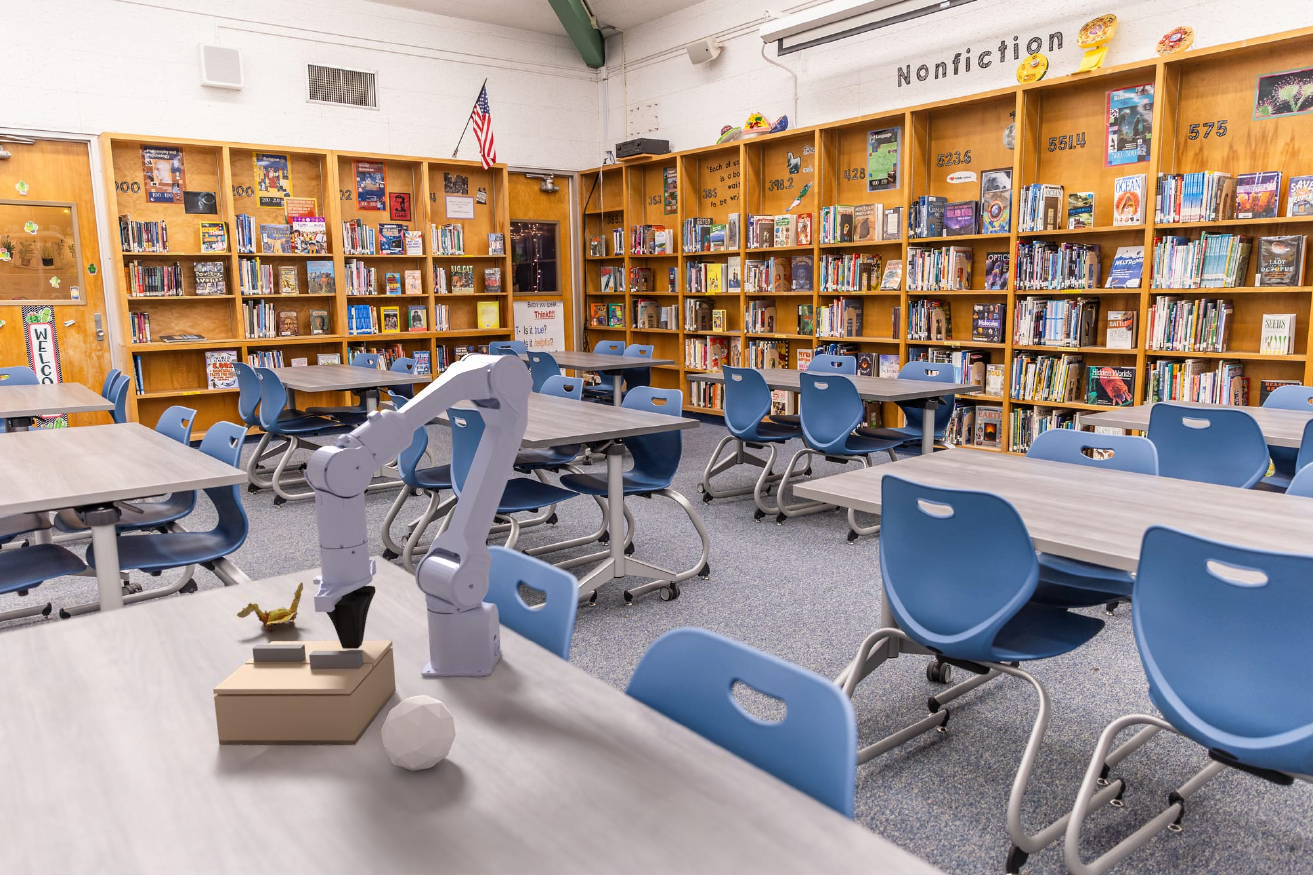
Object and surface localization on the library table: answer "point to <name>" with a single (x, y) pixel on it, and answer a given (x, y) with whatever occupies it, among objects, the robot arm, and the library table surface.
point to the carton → (305, 713)
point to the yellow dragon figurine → (275, 612)
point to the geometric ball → (418, 732)
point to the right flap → (302, 649)
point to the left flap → (300, 676)
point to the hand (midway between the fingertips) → (352, 646)
